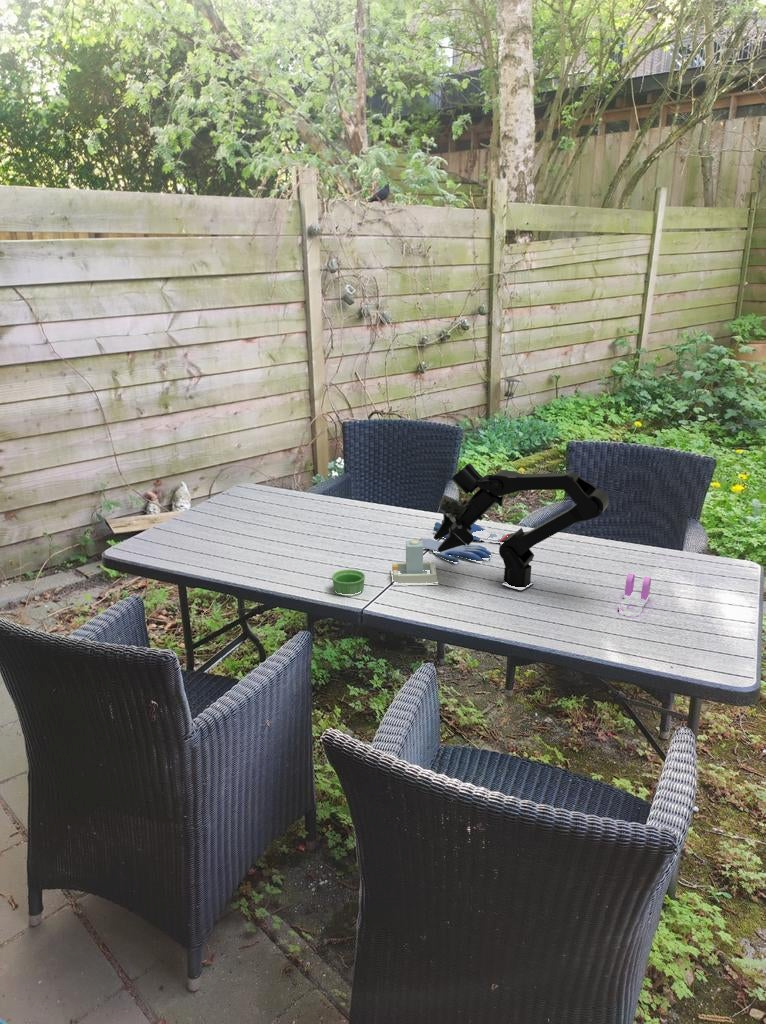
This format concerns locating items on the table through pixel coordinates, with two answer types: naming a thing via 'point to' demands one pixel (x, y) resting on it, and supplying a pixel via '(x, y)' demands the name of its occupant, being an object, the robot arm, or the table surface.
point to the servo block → (414, 557)
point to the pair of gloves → (462, 551)
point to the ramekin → (348, 581)
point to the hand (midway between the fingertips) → (436, 544)
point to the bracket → (630, 586)
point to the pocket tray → (414, 577)
